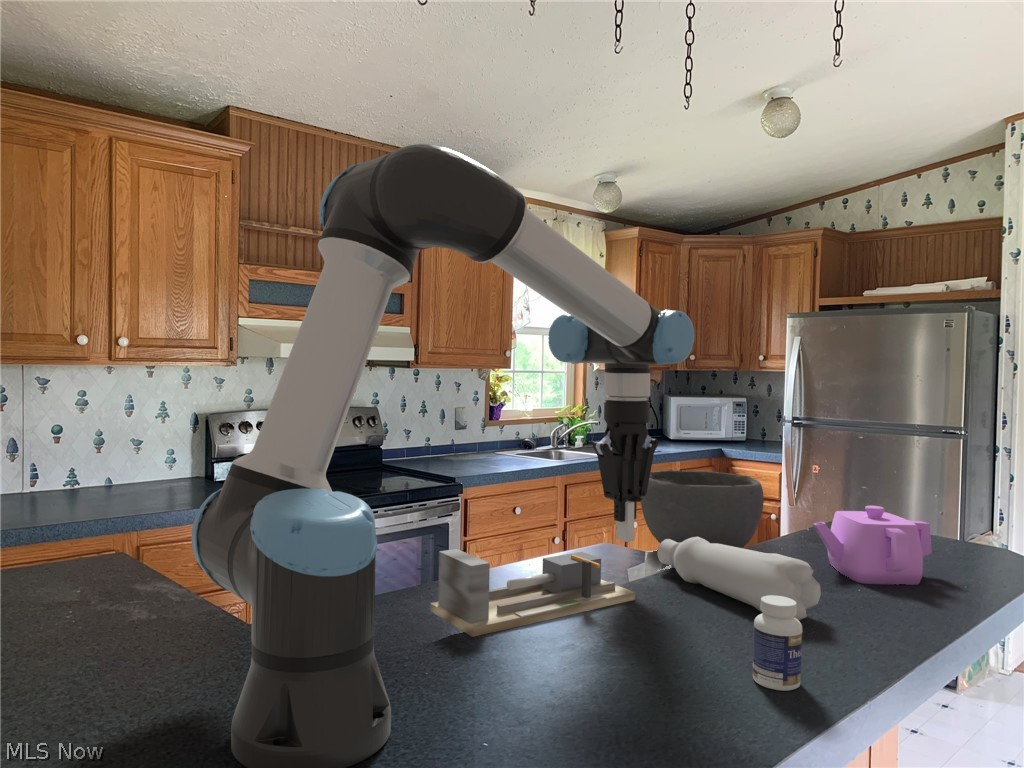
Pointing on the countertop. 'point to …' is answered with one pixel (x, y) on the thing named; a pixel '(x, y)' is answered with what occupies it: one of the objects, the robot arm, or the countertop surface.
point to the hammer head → (586, 579)
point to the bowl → (703, 506)
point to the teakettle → (876, 546)
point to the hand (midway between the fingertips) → (624, 539)
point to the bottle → (742, 572)
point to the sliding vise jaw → (561, 573)
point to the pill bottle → (777, 644)
